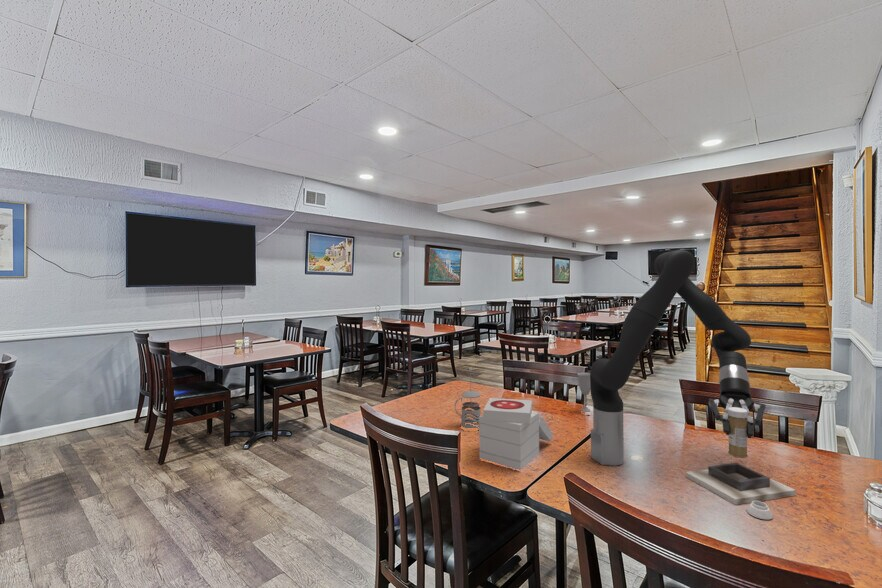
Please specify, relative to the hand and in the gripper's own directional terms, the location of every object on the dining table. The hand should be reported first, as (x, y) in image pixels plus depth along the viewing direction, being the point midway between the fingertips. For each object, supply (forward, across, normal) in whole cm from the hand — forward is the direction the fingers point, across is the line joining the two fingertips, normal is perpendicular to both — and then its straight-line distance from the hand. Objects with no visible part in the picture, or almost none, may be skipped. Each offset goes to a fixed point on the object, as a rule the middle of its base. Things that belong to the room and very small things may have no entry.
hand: (738, 435), depth 113 cm
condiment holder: (+10, 0, +12) cm, 15 cm away
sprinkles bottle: (+3, 0, +6) cm, 7 cm away
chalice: (-23, -52, +45) cm, 72 cm away
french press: (+6, -89, +15) cm, 91 cm away
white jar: (+20, +3, +1) cm, 21 cm away
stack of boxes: (+16, -63, +5) cm, 66 cm away
